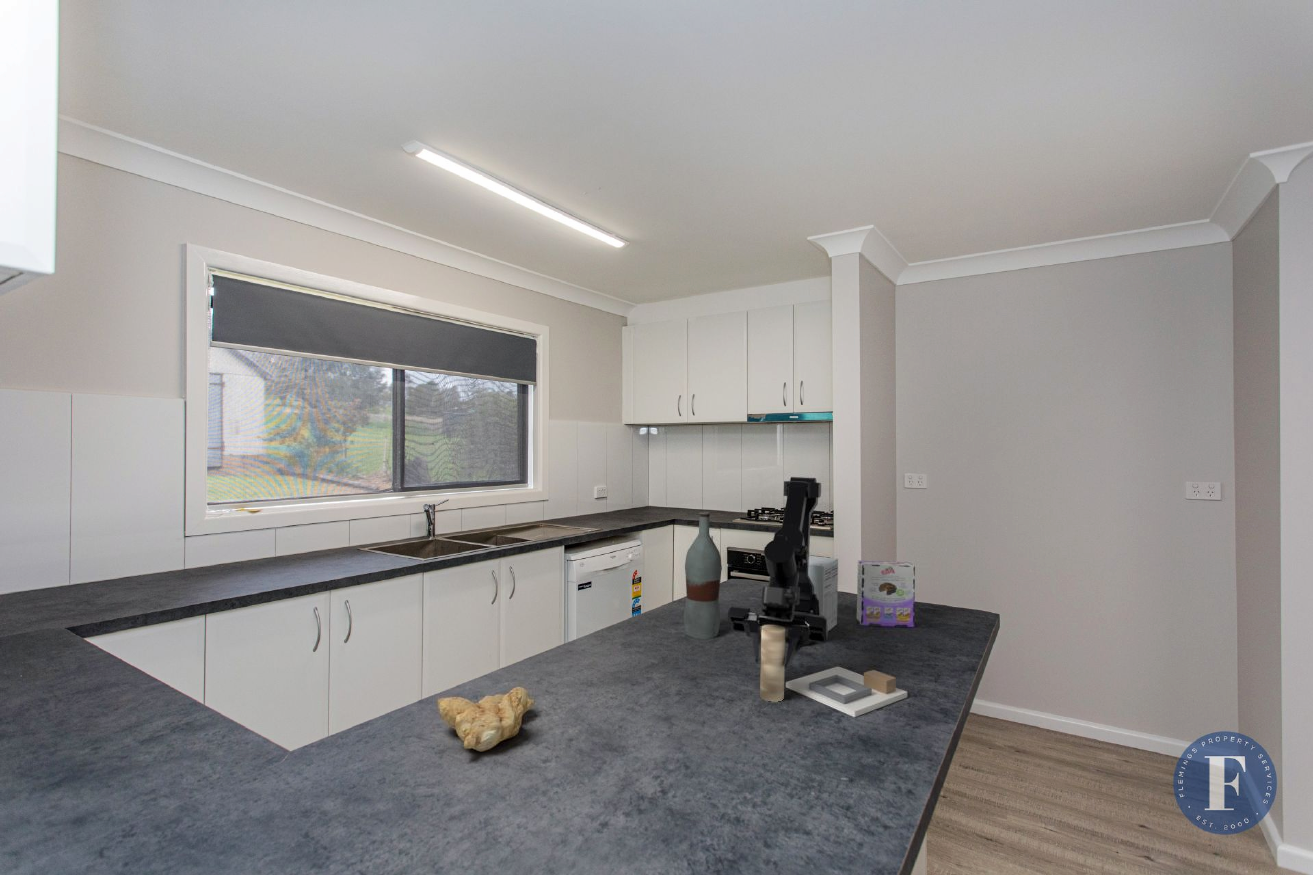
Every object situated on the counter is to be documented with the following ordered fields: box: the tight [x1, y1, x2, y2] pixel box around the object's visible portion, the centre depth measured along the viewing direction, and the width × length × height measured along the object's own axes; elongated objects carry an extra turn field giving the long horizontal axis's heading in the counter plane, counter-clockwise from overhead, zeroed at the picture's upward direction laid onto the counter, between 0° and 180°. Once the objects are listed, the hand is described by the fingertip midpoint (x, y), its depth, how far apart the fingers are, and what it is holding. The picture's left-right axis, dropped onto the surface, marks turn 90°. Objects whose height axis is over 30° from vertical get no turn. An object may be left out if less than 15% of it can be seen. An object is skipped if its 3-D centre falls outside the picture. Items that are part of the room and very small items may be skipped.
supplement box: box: [808, 555, 839, 632], centre depth 166 cm, size 13×13×18 cm
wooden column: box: [759, 625, 786, 703], centre depth 119 cm, size 4×4×13 cm
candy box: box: [856, 560, 916, 628], centre depth 170 cm, size 14×6×16 cm, turn 84°
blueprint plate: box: [785, 666, 908, 718], centre depth 122 cm, size 16×16×4 cm
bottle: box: [683, 511, 723, 640], centre depth 157 cm, size 9×9×30 cm
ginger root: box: [436, 686, 535, 753], centre depth 101 cm, size 16×16×8 cm
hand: (771, 664), depth 118 cm, fingers open, 5 cm apart
